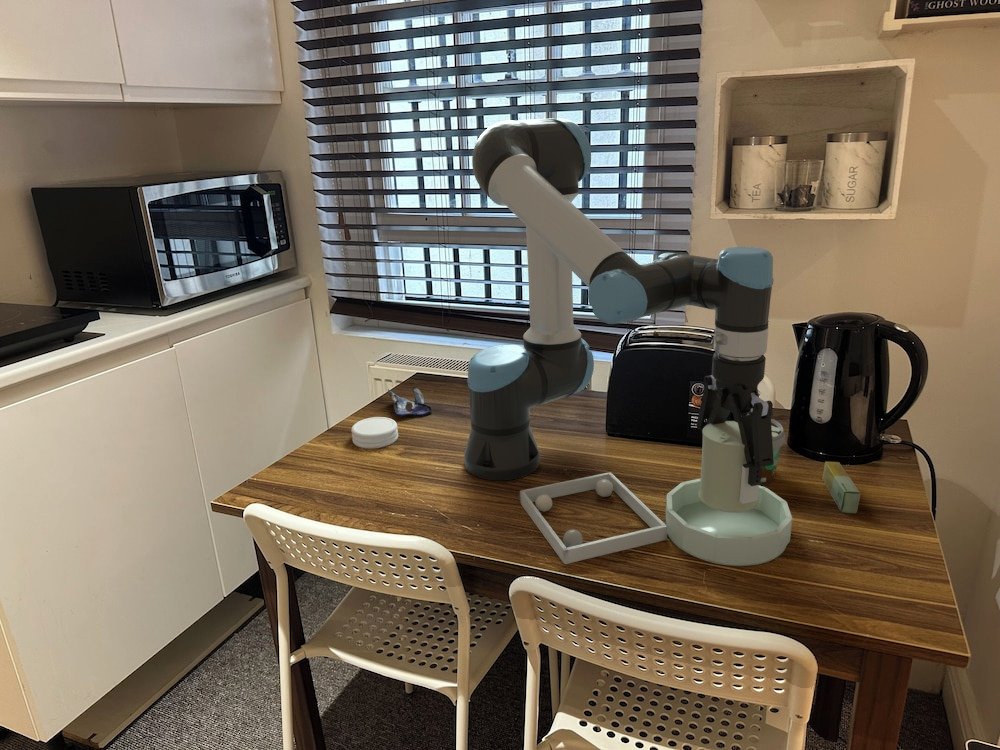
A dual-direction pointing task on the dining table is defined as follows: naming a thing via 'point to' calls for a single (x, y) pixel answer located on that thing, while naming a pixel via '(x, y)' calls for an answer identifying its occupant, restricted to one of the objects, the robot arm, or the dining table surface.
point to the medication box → (841, 487)
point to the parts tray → (600, 546)
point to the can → (723, 468)
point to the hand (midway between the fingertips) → (729, 487)
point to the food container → (777, 441)
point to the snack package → (417, 405)
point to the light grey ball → (604, 488)
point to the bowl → (728, 527)
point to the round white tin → (374, 432)
